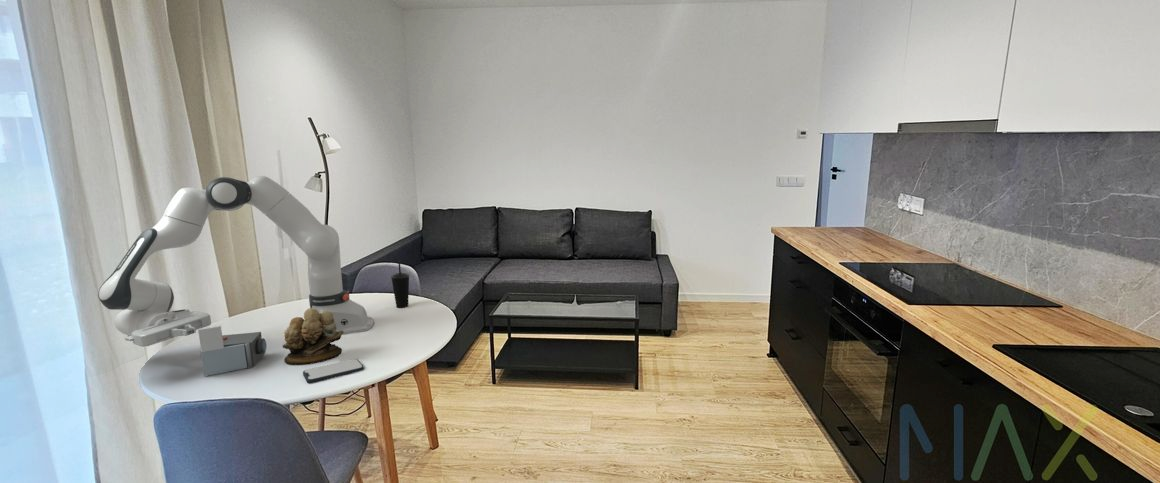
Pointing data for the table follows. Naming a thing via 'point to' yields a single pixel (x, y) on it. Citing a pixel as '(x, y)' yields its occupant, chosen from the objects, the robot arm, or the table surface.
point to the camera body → (253, 339)
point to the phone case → (332, 370)
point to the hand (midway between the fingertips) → (190, 331)
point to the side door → (221, 352)
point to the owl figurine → (312, 338)
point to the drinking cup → (401, 288)
